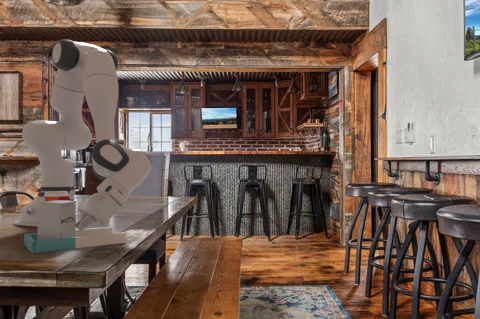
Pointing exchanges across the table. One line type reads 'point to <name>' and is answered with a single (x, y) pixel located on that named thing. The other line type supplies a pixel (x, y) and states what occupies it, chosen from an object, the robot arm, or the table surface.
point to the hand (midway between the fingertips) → (77, 228)
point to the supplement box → (56, 219)
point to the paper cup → (56, 195)
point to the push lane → (75, 240)
